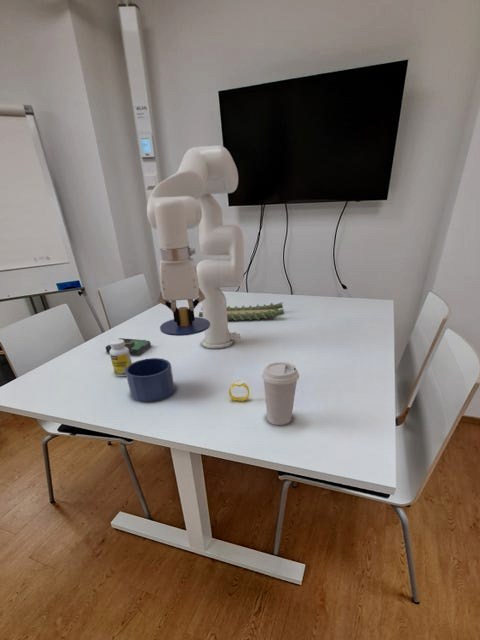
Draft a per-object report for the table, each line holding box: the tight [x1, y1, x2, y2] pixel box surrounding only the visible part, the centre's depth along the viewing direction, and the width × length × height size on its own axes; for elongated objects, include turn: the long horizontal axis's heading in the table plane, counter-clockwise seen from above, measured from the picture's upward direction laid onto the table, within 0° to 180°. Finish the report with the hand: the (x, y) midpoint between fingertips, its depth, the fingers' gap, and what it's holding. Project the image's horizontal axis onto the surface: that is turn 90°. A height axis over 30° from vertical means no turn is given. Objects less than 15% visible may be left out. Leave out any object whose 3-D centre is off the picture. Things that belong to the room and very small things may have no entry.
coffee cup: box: [260, 361, 300, 426], centre depth 93 cm, size 10×10×15 cm
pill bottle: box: [109, 338, 133, 377], centre depth 123 cm, size 6×6×12 cm
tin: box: [125, 357, 175, 403], centre depth 112 cm, size 14×14×8 cm
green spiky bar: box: [198, 302, 285, 322], centre depth 172 cm, size 41×14×5 cm, turn 88°
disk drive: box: [105, 337, 152, 356], centre depth 144 cm, size 10×3×15 cm
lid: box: [159, 306, 210, 337], centre depth 103 cm, size 15×15×6 cm
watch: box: [228, 379, 250, 402], centre depth 105 cm, size 6×3×6 cm, turn 85°
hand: (184, 323), depth 104 cm, fingers closed on lid, 3 cm apart
